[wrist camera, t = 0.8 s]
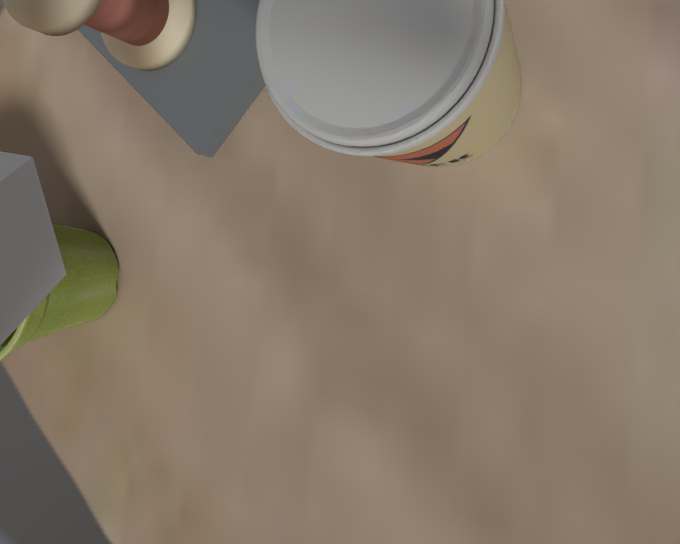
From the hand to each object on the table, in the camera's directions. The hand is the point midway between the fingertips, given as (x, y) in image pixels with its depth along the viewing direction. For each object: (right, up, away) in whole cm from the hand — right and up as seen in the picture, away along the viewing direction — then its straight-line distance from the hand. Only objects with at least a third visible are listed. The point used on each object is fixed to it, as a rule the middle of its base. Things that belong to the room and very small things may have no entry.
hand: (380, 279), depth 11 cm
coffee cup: (+5, +9, +22) cm, 25 cm away
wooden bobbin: (-12, +15, +27) cm, 34 cm away
